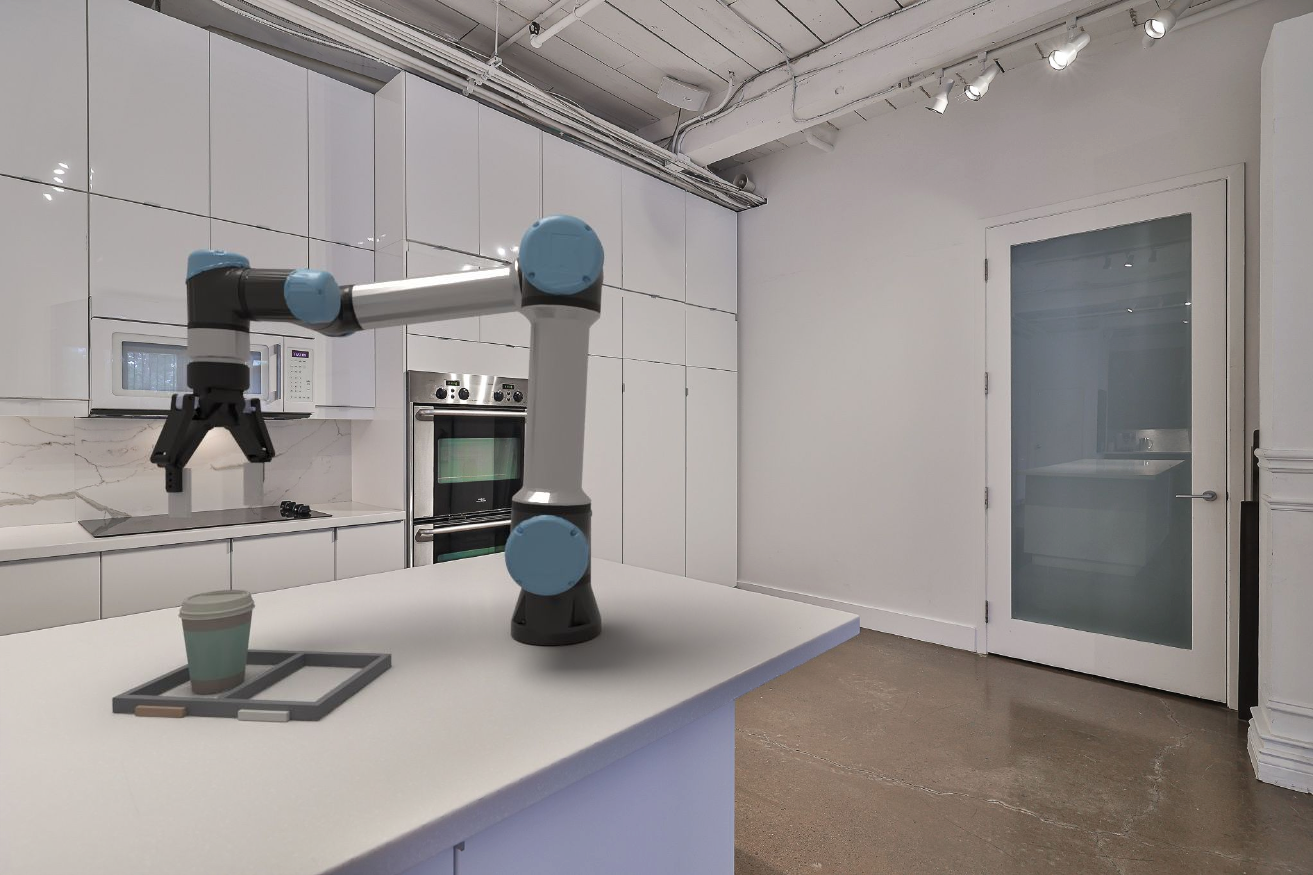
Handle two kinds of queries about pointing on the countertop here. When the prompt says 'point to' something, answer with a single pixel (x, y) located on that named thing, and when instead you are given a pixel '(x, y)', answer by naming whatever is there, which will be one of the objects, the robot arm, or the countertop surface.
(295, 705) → the divided tray
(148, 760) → the countertop surface
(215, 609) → the coffee cup
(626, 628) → the countertop surface
